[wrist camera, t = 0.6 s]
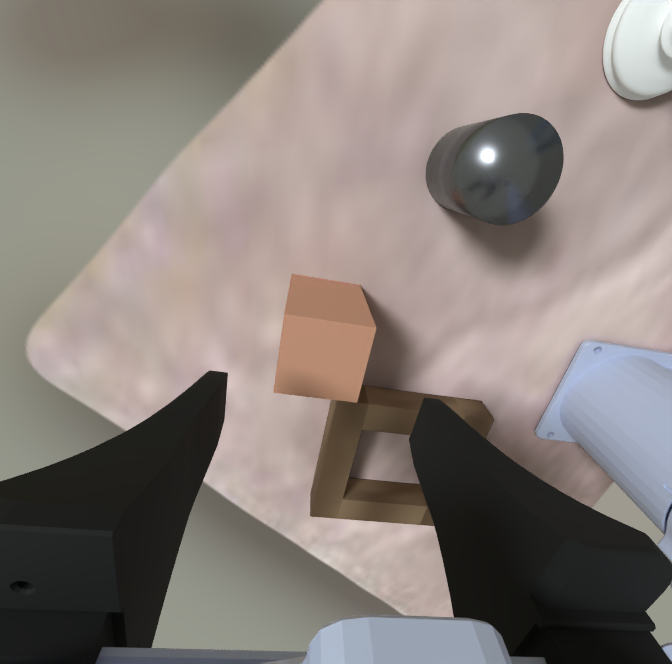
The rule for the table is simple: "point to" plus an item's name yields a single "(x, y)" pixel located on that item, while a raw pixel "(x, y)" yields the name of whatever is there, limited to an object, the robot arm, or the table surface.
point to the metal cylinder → (496, 168)
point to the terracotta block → (324, 340)
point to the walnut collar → (340, 447)
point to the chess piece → (639, 49)
